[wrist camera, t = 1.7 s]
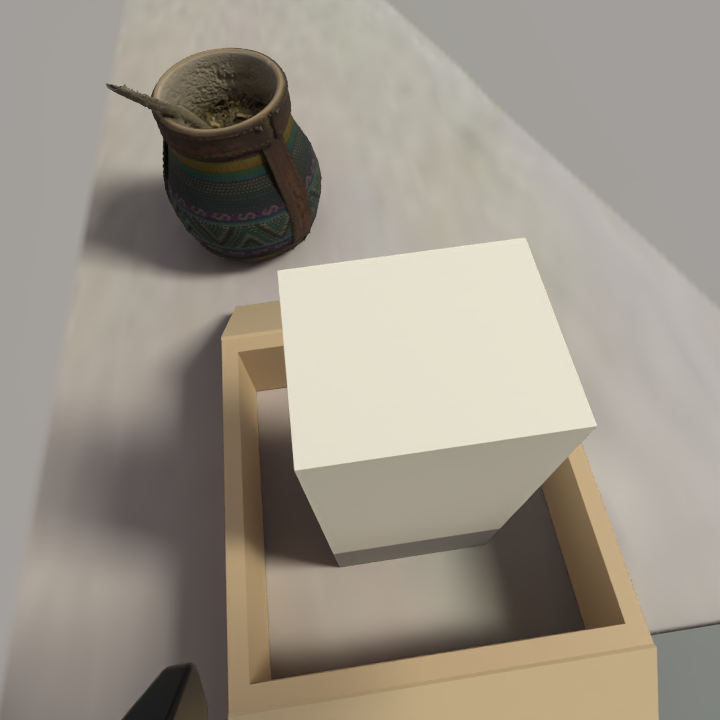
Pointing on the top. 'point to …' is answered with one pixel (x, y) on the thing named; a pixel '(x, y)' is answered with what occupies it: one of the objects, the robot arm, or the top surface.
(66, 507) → the top surface
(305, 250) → the top surface
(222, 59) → the mate gourd
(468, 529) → the box
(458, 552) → the top surface
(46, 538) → the top surface
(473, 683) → the tan rectangular open frame
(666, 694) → the mat
